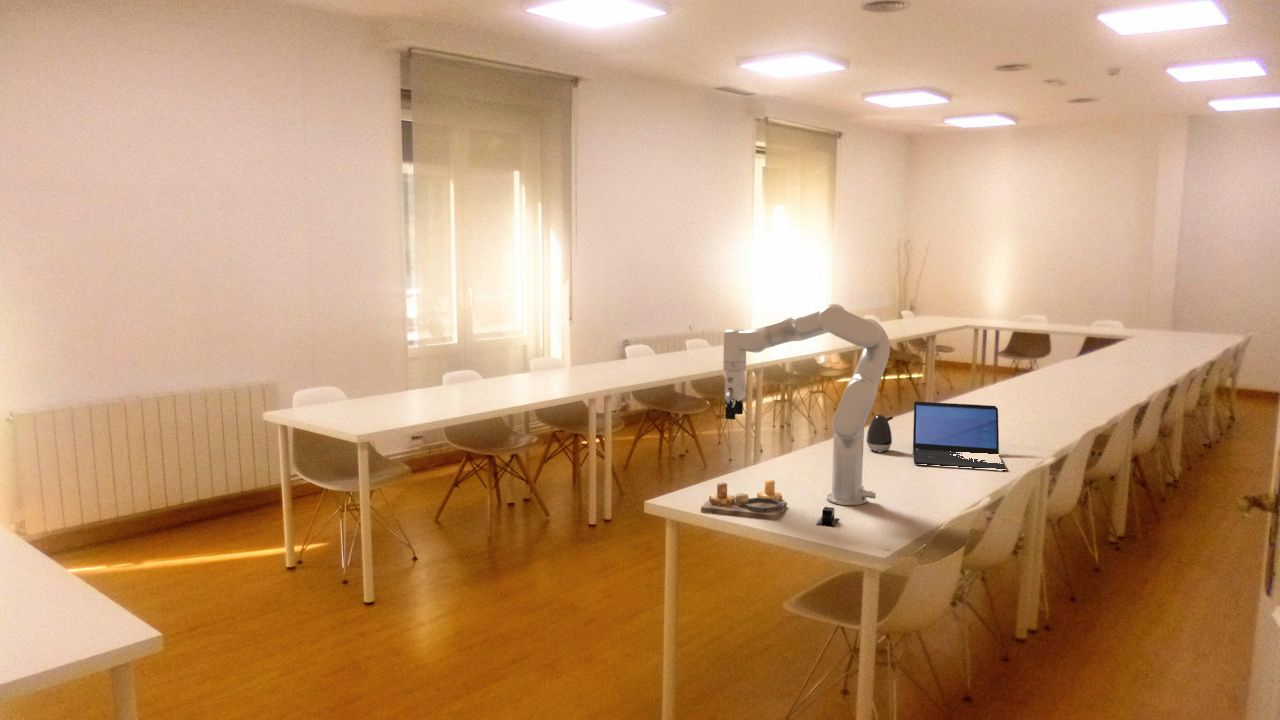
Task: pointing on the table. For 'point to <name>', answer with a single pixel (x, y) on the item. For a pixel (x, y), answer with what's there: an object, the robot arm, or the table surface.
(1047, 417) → the table surface
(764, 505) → the carrier
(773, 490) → the gear
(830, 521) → the black slotted bracket
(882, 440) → the pump dispenser
